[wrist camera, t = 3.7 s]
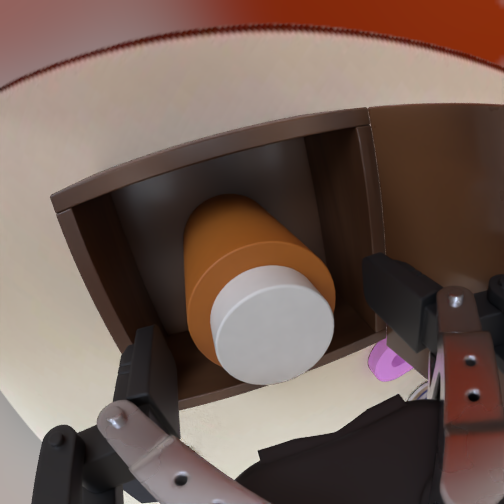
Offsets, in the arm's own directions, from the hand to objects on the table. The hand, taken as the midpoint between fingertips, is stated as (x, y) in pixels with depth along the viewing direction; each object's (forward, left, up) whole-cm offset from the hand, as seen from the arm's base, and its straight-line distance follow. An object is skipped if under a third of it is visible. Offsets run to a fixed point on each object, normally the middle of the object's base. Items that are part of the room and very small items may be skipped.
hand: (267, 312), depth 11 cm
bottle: (0, 0, -9) cm, 9 cm away
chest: (0, 0, -10) cm, 10 cm away
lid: (+7, 0, +5) cm, 9 cm away
